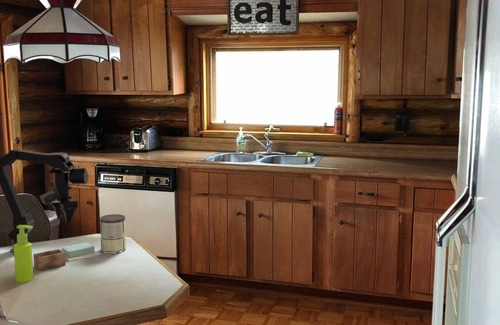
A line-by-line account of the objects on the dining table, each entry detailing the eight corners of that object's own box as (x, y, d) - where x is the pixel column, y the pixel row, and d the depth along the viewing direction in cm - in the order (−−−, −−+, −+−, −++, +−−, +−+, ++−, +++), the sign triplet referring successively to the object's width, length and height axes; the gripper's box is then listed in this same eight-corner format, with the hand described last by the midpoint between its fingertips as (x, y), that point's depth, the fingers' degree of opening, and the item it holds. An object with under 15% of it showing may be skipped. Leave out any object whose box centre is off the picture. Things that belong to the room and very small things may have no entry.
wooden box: (39, 270, 208) (38, 257, 207) (34, 266, 212) (33, 253, 212) (65, 265, 214) (65, 252, 213) (59, 261, 219) (59, 248, 218)
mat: (57, 253, 227) (57, 252, 227) (87, 247, 235) (87, 246, 235) (68, 261, 218) (68, 260, 218) (99, 255, 226) (99, 253, 226)
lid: (69, 258, 220) (68, 251, 220) (62, 253, 226) (61, 247, 226) (94, 252, 227) (94, 246, 227) (87, 248, 233) (87, 242, 232)
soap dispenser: (30, 283, 195) (27, 228, 192) (12, 282, 196) (9, 227, 193) (39, 277, 201) (36, 224, 198) (21, 276, 202) (18, 223, 199)
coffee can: (96, 249, 234) (95, 216, 232) (119, 244, 240) (118, 212, 238) (107, 255, 226) (106, 221, 224) (130, 250, 233) (129, 217, 230)
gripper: (33, 182, 227) (35, 219, 230) (50, 190, 213) (52, 229, 216) (60, 179, 234) (61, 215, 237) (78, 186, 220) (79, 224, 223)
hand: (63, 221), depth 228 cm, fingers open, 9 cm apart
